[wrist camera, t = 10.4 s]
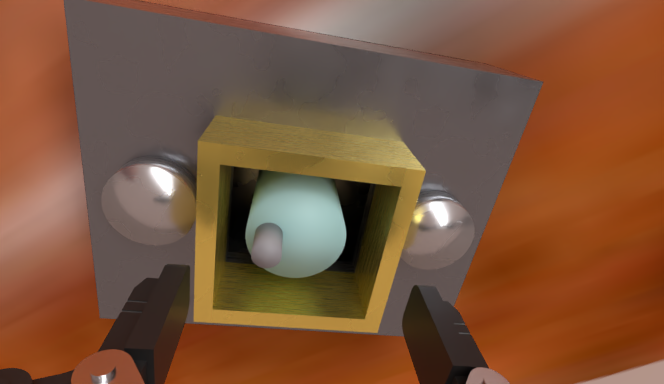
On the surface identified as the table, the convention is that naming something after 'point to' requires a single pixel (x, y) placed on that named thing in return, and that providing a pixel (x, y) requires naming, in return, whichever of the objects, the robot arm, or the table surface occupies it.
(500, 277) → the table surface
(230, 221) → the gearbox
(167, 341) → the robot arm
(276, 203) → the spout can
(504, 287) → the table surface
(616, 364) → the table surface
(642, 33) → the table surface
